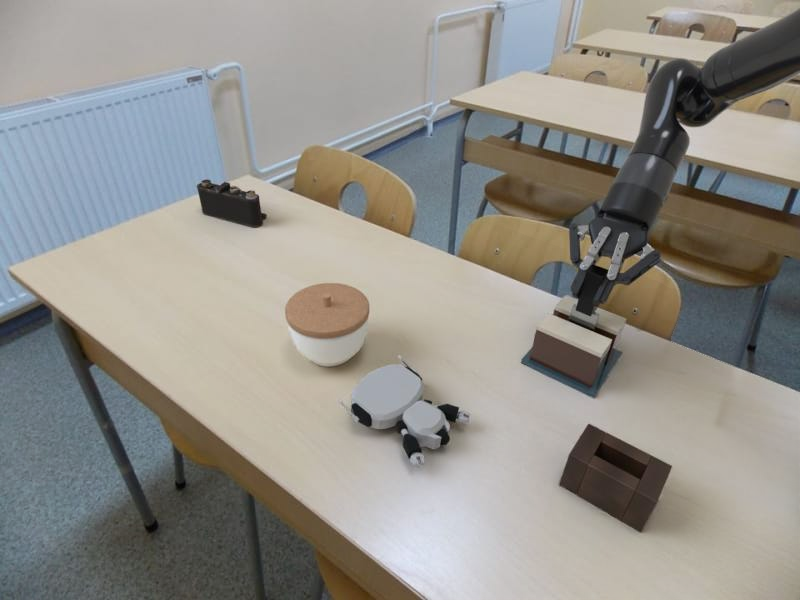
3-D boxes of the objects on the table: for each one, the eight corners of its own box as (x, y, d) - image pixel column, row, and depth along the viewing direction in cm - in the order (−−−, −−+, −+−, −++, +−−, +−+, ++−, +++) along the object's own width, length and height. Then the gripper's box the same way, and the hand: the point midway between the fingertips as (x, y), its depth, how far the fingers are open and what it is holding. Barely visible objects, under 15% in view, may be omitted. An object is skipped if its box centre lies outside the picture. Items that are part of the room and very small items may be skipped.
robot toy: (472, 428, 72) (394, 370, 79) (478, 407, 69) (396, 349, 76) (414, 484, 64) (334, 414, 72) (418, 463, 62) (334, 393, 69)
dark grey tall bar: (589, 351, 81) (614, 271, 73) (583, 359, 80) (608, 279, 71) (565, 341, 83) (587, 262, 75) (559, 348, 82) (580, 268, 73)
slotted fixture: (621, 355, 84) (635, 318, 79) (594, 398, 76) (607, 359, 71) (552, 326, 90) (561, 290, 85) (520, 362, 82) (528, 325, 77)
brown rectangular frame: (656, 496, 63) (672, 465, 59) (640, 532, 59) (657, 502, 56) (577, 453, 68) (588, 422, 64) (558, 484, 64) (569, 454, 60)
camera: (273, 217, 120) (269, 185, 115) (255, 229, 115) (250, 196, 110) (217, 203, 126) (211, 171, 121) (198, 214, 121) (190, 181, 116)
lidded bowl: (300, 324, 88) (293, 270, 82) (373, 328, 88) (373, 274, 81) (282, 376, 78) (273, 319, 72) (365, 381, 78) (364, 324, 71)
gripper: (588, 169, 75) (535, 276, 74) (690, 196, 68) (633, 313, 67) (593, 191, 81) (544, 290, 81) (686, 218, 74) (634, 325, 74)
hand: (585, 300), depth 74 cm, fingers closed on dark grey tall bar, 2 cm apart
